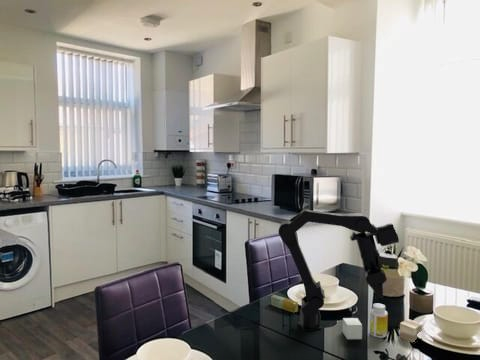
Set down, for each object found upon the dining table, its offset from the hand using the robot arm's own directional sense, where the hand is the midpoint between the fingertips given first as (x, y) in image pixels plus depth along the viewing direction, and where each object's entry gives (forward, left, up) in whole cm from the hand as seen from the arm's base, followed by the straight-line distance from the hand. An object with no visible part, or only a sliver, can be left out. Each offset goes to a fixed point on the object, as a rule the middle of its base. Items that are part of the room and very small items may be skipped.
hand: (379, 292), depth 127 cm
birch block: (+8, -7, -14) cm, 17 cm away
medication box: (-24, +27, -14) cm, 39 cm away
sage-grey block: (-10, 0, -14) cm, 18 cm away
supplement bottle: (-1, -2, -14) cm, 14 cm away
